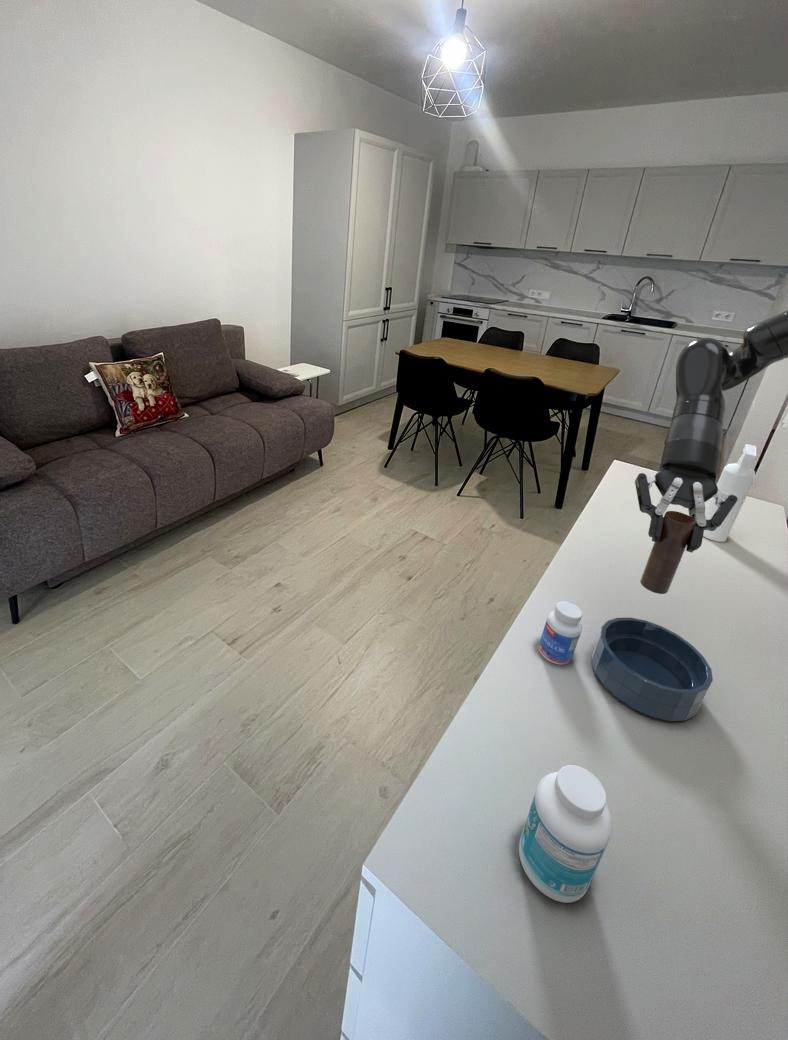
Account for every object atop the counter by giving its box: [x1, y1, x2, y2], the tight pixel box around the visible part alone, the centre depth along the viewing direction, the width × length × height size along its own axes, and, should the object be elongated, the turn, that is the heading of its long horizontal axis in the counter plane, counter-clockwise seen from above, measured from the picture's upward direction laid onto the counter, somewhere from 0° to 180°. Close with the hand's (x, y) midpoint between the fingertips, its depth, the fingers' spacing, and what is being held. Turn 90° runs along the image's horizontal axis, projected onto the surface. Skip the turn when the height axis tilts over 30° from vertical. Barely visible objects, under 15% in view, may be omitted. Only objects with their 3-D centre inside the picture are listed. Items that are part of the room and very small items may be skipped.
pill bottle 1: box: [538, 600, 583, 666], centre depth 84 cm, size 6×5×10 cm
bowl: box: [591, 617, 714, 722], centre depth 80 cm, size 15×15×6 cm
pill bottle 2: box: [518, 764, 613, 904], centre depth 53 cm, size 8×7×14 cm
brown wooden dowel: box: [640, 510, 696, 595], centre depth 78 cm, size 4×4×13 cm
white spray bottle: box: [703, 443, 757, 543], centre depth 123 cm, size 7×12×25 cm, turn 141°
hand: (673, 545), depth 76 cm, fingers closed on brown wooden dowel, 4 cm apart
